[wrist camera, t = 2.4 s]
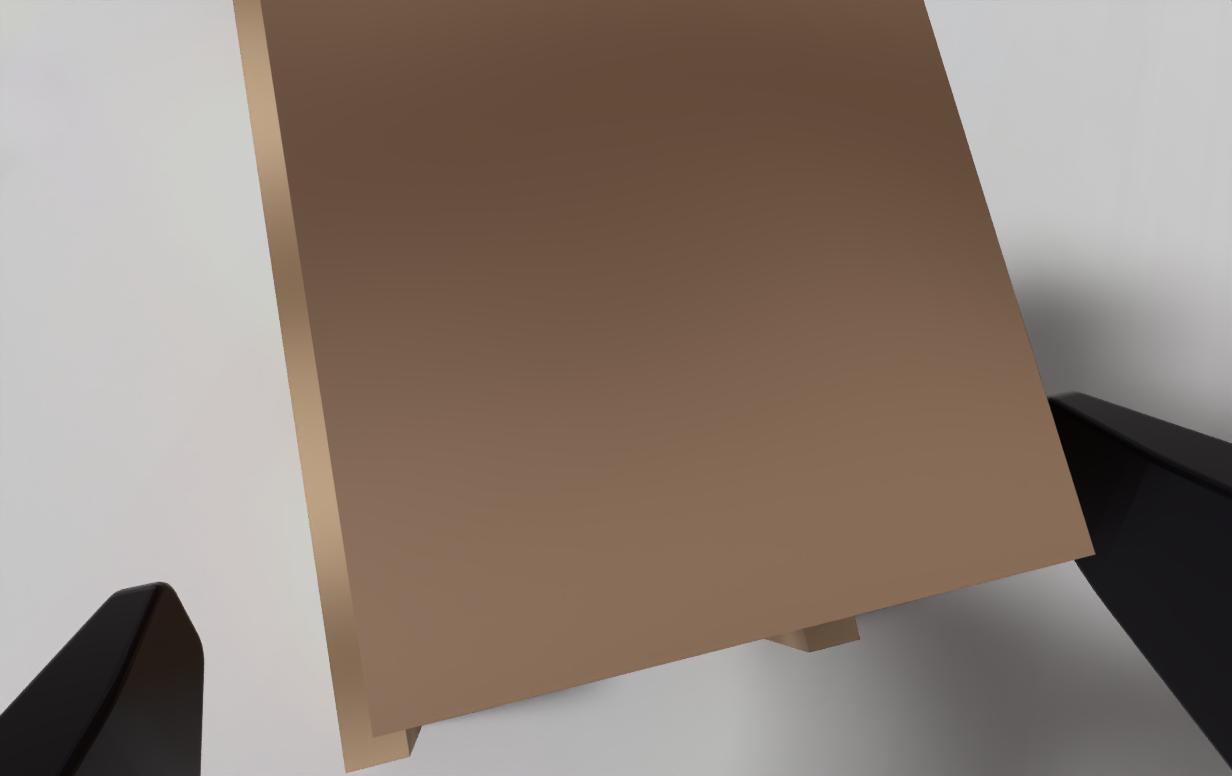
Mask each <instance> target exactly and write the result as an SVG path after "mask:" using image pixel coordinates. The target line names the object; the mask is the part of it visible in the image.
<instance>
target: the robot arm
mask: <svg viewBox="0 0 1232 776" xmlns="http://www.w3.org/2000/svg"><path fill="white" fill-rule="evenodd" d="M1046 397H1047V400H1048V403H1049V406H1050V410H1051V413H1052V416H1053V419H1054V422H1055V426H1056V429H1057V432H1058V435H1059V439H1060V442H1061V445H1062V448H1063V451H1064V455H1065V458H1066V461H1067V464H1068V468H1069V471H1070V474H1071V477H1072V480H1073V484H1074V487H1075V490H1076V493H1077V497H1078V500H1079V503H1080V506H1081V509H1082V513H1083V516H1084V519H1085V522H1086V526H1087V529H1088V532H1089V535H1090V538H1091V542H1092V545H1093V548H1094V551H1095V555H1091V556H1087V557H1083V558H1079V559H1075V562H1076V564H1077V565H1078V567H1079V568H1080V570H1081V572H1082V573H1083V575H1084V576H1085V578H1086V579H1087V581H1088V582H1089V584H1090V585H1091V587H1092V588H1093V590H1094V591H1095V592H1096V594H1097V595H1098V596H1099V598H1100V599H1101V600H1102V602H1103V603H1104V605H1105V606H1106V607H1107V609H1108V610H1109V611H1110V612H1111V614H1112V615H1113V616H1114V618H1115V619H1116V620H1117V622H1118V623H1119V624H1120V625H1121V627H1122V628H1123V629H1124V631H1125V632H1126V633H1127V635H1128V636H1129V637H1130V638H1131V640H1132V641H1133V642H1134V644H1135V645H1136V646H1137V648H1138V649H1139V650H1140V651H1141V653H1142V654H1143V655H1144V657H1145V658H1146V659H1147V660H1148V662H1149V663H1150V664H1151V666H1152V667H1153V668H1154V670H1155V671H1156V672H1157V673H1158V675H1159V676H1160V677H1161V679H1162V680H1163V681H1164V683H1165V684H1166V685H1167V686H1168V688H1169V689H1170V690H1171V692H1172V693H1173V694H1174V696H1175V697H1176V698H1177V699H1178V701H1179V702H1180V703H1181V705H1182V706H1183V707H1184V709H1185V710H1186V711H1187V712H1188V714H1189V715H1190V716H1191V718H1192V719H1193V720H1194V722H1195V723H1196V724H1197V725H1198V727H1199V728H1200V729H1201V731H1202V732H1203V733H1204V735H1205V736H1206V737H1207V738H1208V740H1209V741H1210V742H1211V744H1212V745H1213V746H1214V747H1215V749H1216V750H1217V751H1218V753H1219V754H1220V755H1221V757H1222V758H1223V759H1224V760H1225V762H1226V763H1227V764H1228V766H1229V767H1230V768H1231V770H1232V443H1229V442H1226V441H1223V440H1220V439H1217V438H1214V437H1211V436H1208V435H1205V434H1202V433H1199V432H1196V431H1193V430H1190V429H1187V428H1184V427H1181V426H1178V425H1175V424H1172V423H1169V422H1166V421H1163V420H1160V419H1157V418H1154V417H1151V416H1148V415H1145V414H1142V413H1139V412H1137V411H1134V410H1131V409H1128V408H1125V407H1122V406H1119V405H1116V404H1113V403H1110V402H1107V401H1104V400H1101V399H1098V398H1095V397H1092V396H1089V395H1086V394H1083V393H1079V392H1066V393H1061V394H1056V395H1051V396H1046ZM203 686H204V653H203V647H202V643H201V640H200V638H199V635H198V633H197V632H196V630H195V628H194V626H193V624H192V622H191V620H190V618H189V616H188V615H187V613H186V611H185V609H184V607H183V605H182V603H181V601H180V599H179V597H178V596H177V594H176V592H175V590H174V589H173V588H172V587H171V586H170V585H169V584H168V583H165V582H155V583H150V584H145V585H140V586H135V587H131V588H126V589H122V590H120V591H117V592H116V593H114V594H113V595H112V596H110V597H109V598H108V599H107V600H106V601H105V603H104V604H103V605H102V606H101V607H100V608H99V609H98V610H97V611H96V612H95V613H94V614H93V616H92V617H91V618H90V619H89V620H88V621H87V622H86V623H85V624H84V625H83V626H82V627H81V628H80V630H79V631H78V632H77V633H76V634H75V635H74V636H73V637H72V638H71V639H70V640H69V641H68V643H67V644H66V645H65V646H64V647H63V648H62V649H61V650H60V651H59V652H58V653H57V654H56V656H55V657H54V658H53V659H52V660H51V661H50V662H49V663H48V664H47V665H46V666H45V667H44V668H43V670H42V671H41V672H40V673H39V674H38V675H37V676H36V677H35V678H34V679H33V680H32V681H31V683H30V684H29V685H28V686H27V687H26V688H25V689H24V690H23V691H22V692H21V693H20V694H19V696H18V697H17V698H16V699H15V700H14V701H13V702H12V703H11V704H10V705H9V706H8V707H7V709H6V710H5V711H4V712H3V713H2V714H1V715H0V776H201V746H202V716H203Z"/></svg>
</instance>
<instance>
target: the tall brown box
mask: <svg viewBox="0 0 1232 776" xmlns="http://www.w3.org/2000/svg"><path fill="white" fill-rule="evenodd" d="M260 2H261V9H262V16H263V22H264V29H265V35H266V42H267V48H268V55H269V61H270V68H271V74H272V81H273V87H274V94H275V101H276V107H277V114H278V120H279V127H280V133H281V140H282V146H283V153H284V159H285V166H286V172H287V179H288V186H289V192H290V199H291V205H292V212H293V218H294V225H295V231H296V238H297V244H298V251H299V258H300V264H301V271H302V277H303V284H304V290H305V297H306V303H307V310H308V316H309V323H310V329H311V336H312V343H313V349H314V356H315V362H316V369H317V375H318V382H319V388H320V395H321V401H322V408H323V414H324V421H325V428H326V434H327V441H328V447H329V454H330V460H331V467H332V473H333V480H334V486H335V493H336V499H337V506H338V513H339V519H340V526H341V532H342V539H343V545H344V552H345V558H346V565H347V571H348V578H349V585H350V591H351V598H352V604H353V611H354V617H355V624H356V630H357V637H358V643H359V650H360V656H361V663H362V670H363V676H364V683H365V689H366V696H367V702H368V709H369V715H370V722H371V728H372V735H373V738H374V737H378V736H382V735H386V734H390V733H394V732H398V731H402V730H406V729H410V728H414V727H418V726H422V725H426V724H430V723H433V722H437V721H441V720H445V719H449V718H453V717H457V716H461V715H465V714H469V713H473V712H477V711H481V710H485V709H489V708H493V707H496V706H500V705H504V704H508V703H512V702H516V701H520V700H524V699H528V698H532V697H536V696H540V695H544V694H548V693H552V692H556V691H559V690H563V689H567V688H571V687H575V686H579V685H583V684H587V683H591V682H595V681H599V680H603V679H607V678H611V677H615V676H619V675H622V674H626V673H630V672H634V671H638V670H642V669H646V668H650V667H654V666H658V665H662V664H666V663H670V662H674V661H678V660H682V659H685V658H689V657H693V656H697V655H701V654H705V653H709V652H713V651H717V650H721V649H725V648H729V647H733V646H737V645H741V644H745V643H748V642H752V641H756V640H760V639H764V638H768V637H772V636H776V635H780V634H784V633H788V632H792V631H796V630H800V629H804V628H807V627H811V626H815V625H819V624H823V623H827V622H831V621H835V620H839V619H843V618H847V617H851V616H855V615H859V614H863V613H867V612H870V611H874V610H878V609H882V608H886V607H890V606H894V605H898V604H902V603H906V602H910V601H914V600H918V599H922V598H926V597H930V596H933V595H937V594H941V593H945V592H949V591H953V590H957V589H961V588H965V587H969V586H973V585H977V584H981V583H985V582H989V581H993V580H996V579H1000V578H1004V577H1008V576H1012V575H1016V574H1020V573H1024V572H1028V571H1032V570H1036V569H1040V568H1044V567H1048V566H1052V565H1056V564H1059V563H1063V562H1067V561H1071V560H1075V559H1079V558H1083V557H1087V556H1091V555H1095V551H1094V548H1093V545H1092V542H1091V538H1090V535H1089V532H1088V529H1087V526H1086V522H1085V519H1084V516H1083V513H1082V509H1081V506H1080V503H1079V500H1078V497H1077V493H1076V490H1075V487H1074V484H1073V480H1072V477H1071V474H1070V471H1069V468H1068V464H1067V461H1066V458H1065V455H1064V451H1063V448H1062V445H1061V442H1060V439H1059V435H1058V432H1057V429H1056V426H1055V422H1054V419H1053V416H1052V413H1051V410H1050V406H1049V403H1048V400H1047V397H1046V393H1045V390H1044V387H1043V384H1042V381H1041V377H1040V374H1039V371H1038V368H1037V364H1036V361H1035V358H1034V355H1033V352H1032V348H1031V345H1030V342H1029V339H1028V335H1027V332H1026V329H1025V326H1024V323H1023V319H1022V316H1021V313H1020V310H1019V306H1018V303H1017V300H1016V297H1015V294H1014V290H1013V287H1012V284H1011V281H1010V277H1009V274H1008V271H1007V268H1006V265H1005V261H1004V258H1003V255H1002V252H1001V248H1000V245H999V242H998V239H997V236H996V232H995V229H994V226H993V223H992V219H991V216H990V213H989V210H988V207H987V203H986V200H985V197H984V194H983V190H982V187H981V184H980V181H979V178H978V174H977V171H976V168H975V165H974V161H973V158H972V155H971V152H970V149H969V145H968V142H967V139H966V136H965V132H964V129H963V126H962V123H961V120H960V116H959V113H958V110H957V107H956V103H955V100H954V97H953V94H952V91H951V87H950V84H949V81H948V78H947V74H946V71H945V68H944V65H943V62H942V58H941V55H940V52H939V49H938V45H937V42H936V39H935V36H934V33H933V29H932V26H931V23H930V20H929V16H928V13H927V10H926V7H925V4H924V0H260Z"/></svg>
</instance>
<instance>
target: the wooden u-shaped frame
mask: <svg viewBox="0 0 1232 776" xmlns="http://www.w3.org/2000/svg"><path fill="white" fill-rule="evenodd" d="M233 5H234V12H235V19H236V26H237V32H238V39H239V46H240V53H241V60H242V67H243V73H244V80H245V87H246V94H247V101H248V108H249V114H250V121H251V128H252V135H253V142H254V149H255V155H256V162H257V169H258V176H259V183H260V190H261V196H262V203H263V210H264V217H265V224H266V231H267V237H268V244H269V251H270V258H271V265H272V272H273V278H274V285H275V292H276V299H277V306H278V313H279V320H280V326H281V333H282V340H283V347H284V354H285V361H286V367H287V374H288V381H289V388H290V395H291V402H292V408H293V415H294V422H295V429H296V436H297V443H298V449H299V456H300V463H301V470H302V477H303V484H304V490H305V497H306V504H307V511H308V518H309V525H310V531H311V538H312V545H313V552H314V559H315V566H316V572H317V579H318V586H319V593H320V600H321V607H322V613H323V620H324V627H325V634H326V641H327V648H328V654H329V661H330V668H331V675H332V682H333V689H334V695H335V702H336V709H337V716H338V723H339V730H340V736H341V743H342V750H343V757H344V764H345V771H346V773H349V772H352V771H356V770H360V769H364V768H368V767H372V766H375V765H379V764H383V763H387V762H391V761H395V760H398V759H402V758H406V757H410V755H411V752H412V750H413V747H414V745H415V742H416V740H417V737H418V735H419V732H420V730H421V727H422V726H418V727H414V728H410V729H406V730H402V731H398V732H394V733H390V734H386V735H382V736H378V737H374V738H373V735H372V728H371V722H370V715H369V709H368V702H367V696H366V689H365V683H364V676H363V670H362V663H361V656H360V650H359V643H358V637H357V630H356V624H355V617H354V611H353V604H352V598H351V591H350V585H349V578H348V571H347V565H346V558H345V552H344V545H343V539H342V532H341V526H340V519H339V513H338V506H337V499H336V493H335V486H334V480H333V473H332V467H331V460H330V454H329V447H328V441H327V434H326V428H325V421H324V414H323V408H322V401H321V395H320V388H319V382H318V375H317V369H316V362H315V356H314V349H313V343H312V336H311V329H310V323H309V316H308V310H307V303H306V297H305V290H304V284H303V277H302V271H301V264H300V258H299V251H298V244H297V238H296V231H295V225H294V218H293V212H292V205H291V199H290V192H289V186H288V179H287V172H286V166H285V159H284V153H283V146H282V140H281V133H280V127H279V120H278V114H277V107H276V101H275V94H274V87H273V81H272V74H271V68H270V61H269V55H268V48H267V42H266V35H265V29H264V22H263V16H262V9H261V2H260V0H233ZM764 639H767V640H770V641H774V642H777V643H780V644H783V645H786V646H790V647H793V648H796V649H799V650H803V651H806V652H813V651H817V650H821V649H825V648H829V647H832V646H836V645H840V644H844V643H848V642H852V641H855V640H859V639H860V636H859V632H858V628H857V625H856V621H855V617H854V616H851V617H847V618H843V619H839V620H835V621H831V622H827V623H823V624H819V625H815V626H811V627H807V628H804V629H800V630H796V631H792V632H788V633H784V634H780V635H776V636H772V637H768V638H764Z"/></svg>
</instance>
